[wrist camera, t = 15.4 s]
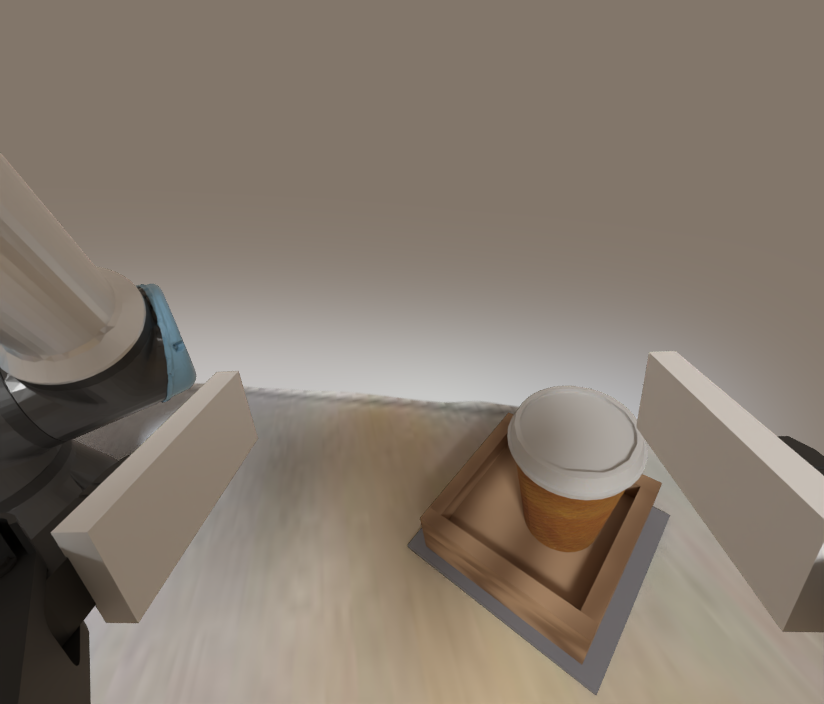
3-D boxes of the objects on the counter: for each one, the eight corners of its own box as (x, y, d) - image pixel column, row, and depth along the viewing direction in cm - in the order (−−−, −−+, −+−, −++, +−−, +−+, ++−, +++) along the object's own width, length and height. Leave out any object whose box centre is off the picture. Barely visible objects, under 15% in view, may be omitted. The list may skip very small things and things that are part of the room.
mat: (407, 547, 40) (407, 545, 40) (501, 433, 50) (501, 431, 49) (596, 695, 30) (596, 694, 30) (668, 517, 39) (670, 515, 39)
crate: (426, 546, 40) (420, 517, 37) (507, 442, 48) (508, 412, 45) (581, 664, 31) (591, 641, 28) (649, 514, 39) (662, 483, 36)
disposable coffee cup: (485, 529, 37) (482, 442, 30) (535, 456, 42) (543, 366, 35) (593, 599, 32) (623, 513, 24) (635, 505, 37) (670, 412, 30)
